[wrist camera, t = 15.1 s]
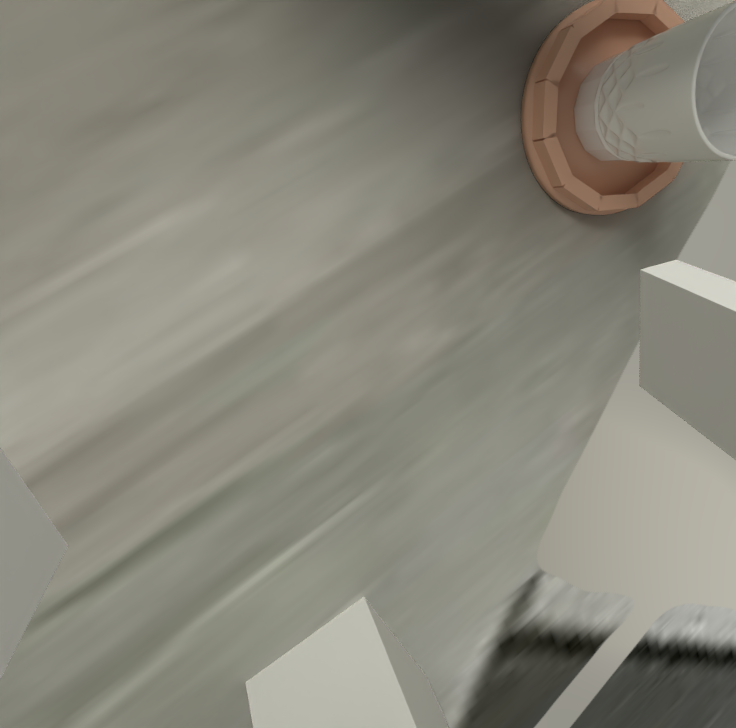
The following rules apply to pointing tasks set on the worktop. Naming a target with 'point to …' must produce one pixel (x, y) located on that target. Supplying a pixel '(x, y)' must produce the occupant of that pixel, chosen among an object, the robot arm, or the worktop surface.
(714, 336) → the robot arm
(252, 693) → the milk
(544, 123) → the saucer
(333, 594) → the worktop surface
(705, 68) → the white cup
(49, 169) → the worktop surface
